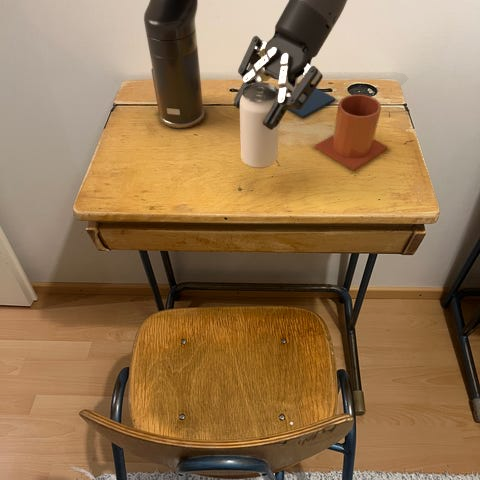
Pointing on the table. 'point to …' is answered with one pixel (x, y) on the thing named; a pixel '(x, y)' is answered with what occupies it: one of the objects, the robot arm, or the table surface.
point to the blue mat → (313, 103)
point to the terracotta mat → (351, 162)
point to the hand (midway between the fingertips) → (252, 117)
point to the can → (258, 125)
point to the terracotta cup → (355, 125)
